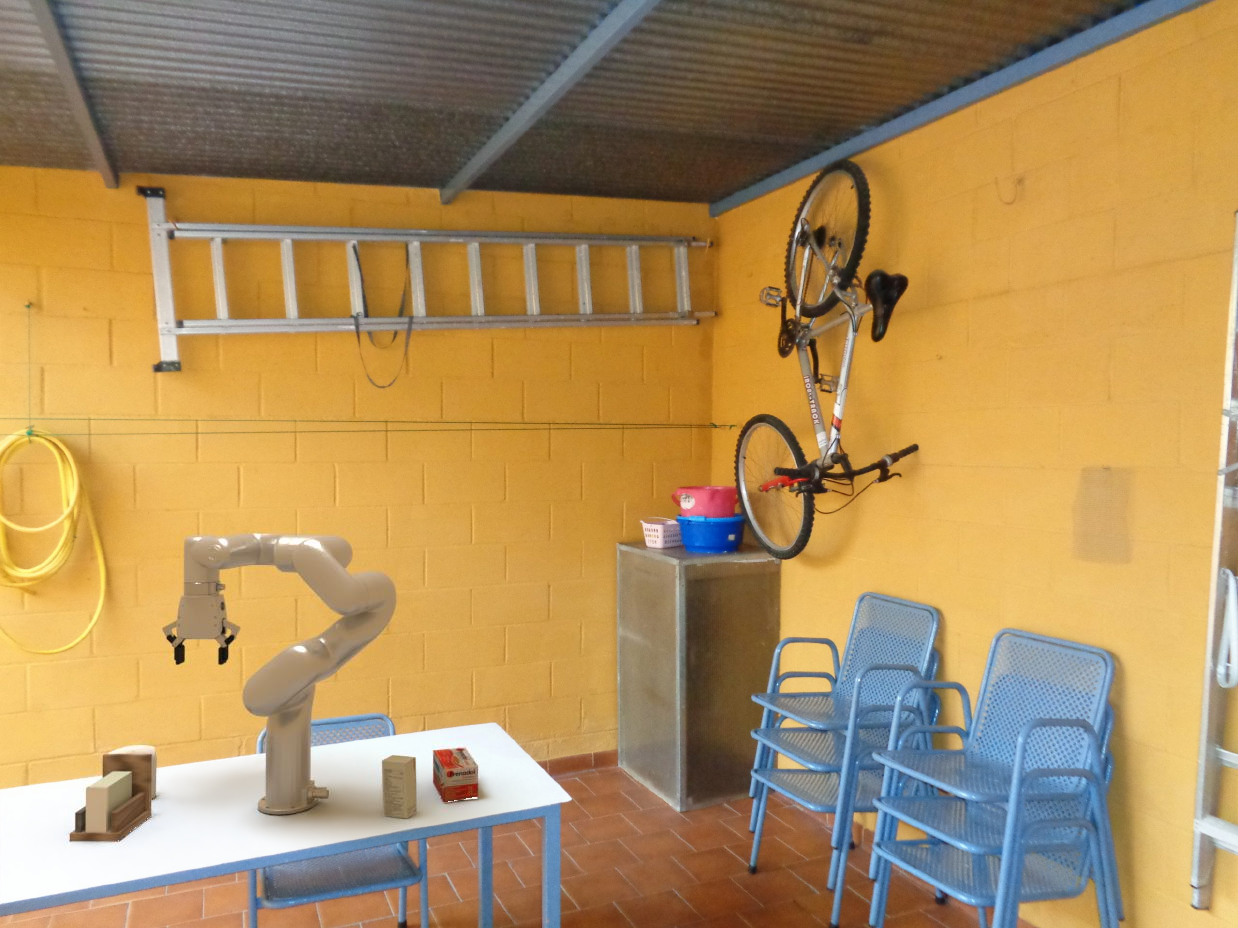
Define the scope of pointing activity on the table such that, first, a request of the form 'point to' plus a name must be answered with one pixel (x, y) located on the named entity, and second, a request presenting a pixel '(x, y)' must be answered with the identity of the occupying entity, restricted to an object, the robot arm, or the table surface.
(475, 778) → the medicine box
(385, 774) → the skincare box
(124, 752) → the photo printer
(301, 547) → the robot arm
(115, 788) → the beige rectangular block
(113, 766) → the shelf
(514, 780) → the table surface
